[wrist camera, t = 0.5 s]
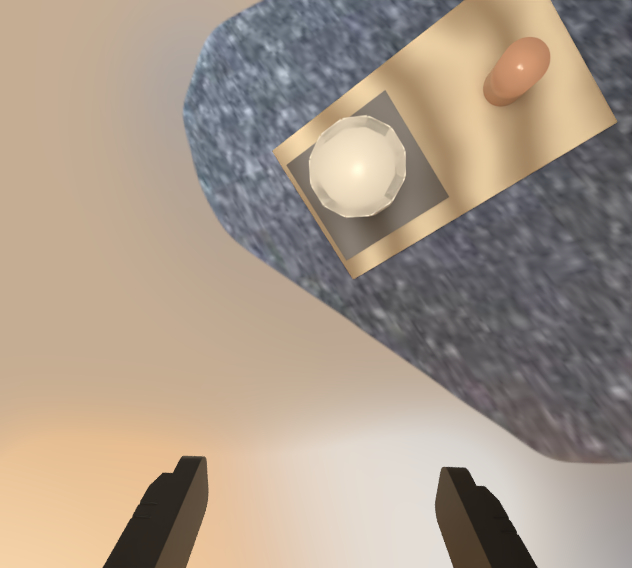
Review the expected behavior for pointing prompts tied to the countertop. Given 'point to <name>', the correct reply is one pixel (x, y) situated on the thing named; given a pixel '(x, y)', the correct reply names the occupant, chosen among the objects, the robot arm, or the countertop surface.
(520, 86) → the peach rounded knob
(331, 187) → the cover cup
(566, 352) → the countertop surface
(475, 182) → the board
